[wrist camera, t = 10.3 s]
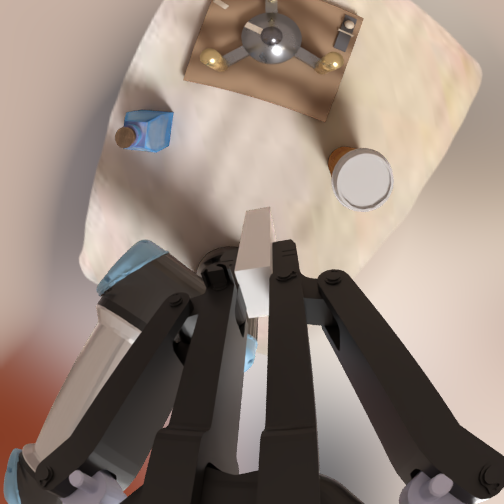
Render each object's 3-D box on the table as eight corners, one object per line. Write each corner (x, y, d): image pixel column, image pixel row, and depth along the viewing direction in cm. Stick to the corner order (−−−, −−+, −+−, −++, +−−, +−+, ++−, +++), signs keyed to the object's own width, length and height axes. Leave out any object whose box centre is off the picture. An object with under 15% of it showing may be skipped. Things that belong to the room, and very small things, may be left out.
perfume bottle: (141, 109, 43) (108, 115, 33) (173, 112, 43) (146, 117, 33) (138, 142, 46) (105, 156, 36) (169, 145, 46) (141, 160, 36)
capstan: (354, 33, 32) (374, 20, 24) (298, 115, 40) (306, 118, 32) (268, -14, 29) (268, -38, 20) (211, 68, 37) (196, 60, 29)
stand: (322, 121, 43) (327, 123, 40) (186, 80, 40) (180, 79, 37) (360, 21, 32) (366, 16, 29) (224, -20, 30) (221, -28, 26)
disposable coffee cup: (323, 192, 49) (338, 219, 39) (314, 141, 45) (328, 155, 34) (372, 184, 48) (397, 209, 37) (366, 134, 43) (393, 146, 33)
